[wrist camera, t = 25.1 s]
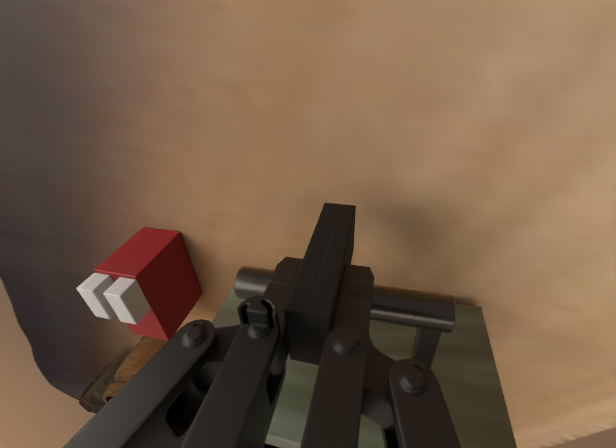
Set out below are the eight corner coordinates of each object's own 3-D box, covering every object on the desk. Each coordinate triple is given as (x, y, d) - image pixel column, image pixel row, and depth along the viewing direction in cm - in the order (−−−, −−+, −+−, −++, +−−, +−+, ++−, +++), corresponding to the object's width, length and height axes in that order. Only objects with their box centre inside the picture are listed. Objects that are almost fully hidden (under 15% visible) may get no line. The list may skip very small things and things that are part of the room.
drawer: (226, 207, 20) (113, 337, 12) (510, 234, 16) (610, 448, 8) (271, 390, 34) (231, 507, 26) (431, 429, 30) (441, 580, 22)
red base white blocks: (143, 227, 24) (73, 285, 19) (180, 231, 24) (118, 294, 18) (170, 288, 28) (119, 350, 23) (202, 293, 28) (157, 359, 22)
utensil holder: (136, 333, 36) (39, 452, 26) (166, 323, 32) (68, 455, 23) (172, 363, 38) (95, 483, 28) (204, 356, 35) (129, 489, 25)
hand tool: (116, 391, 49) (93, 422, 46) (94, 378, 48) (69, 409, 45) (158, 360, 38) (133, 397, 35) (130, 342, 37) (101, 379, 34)
